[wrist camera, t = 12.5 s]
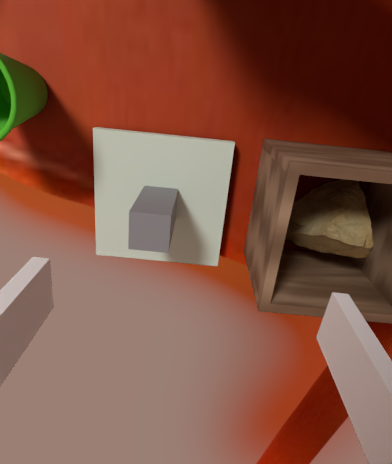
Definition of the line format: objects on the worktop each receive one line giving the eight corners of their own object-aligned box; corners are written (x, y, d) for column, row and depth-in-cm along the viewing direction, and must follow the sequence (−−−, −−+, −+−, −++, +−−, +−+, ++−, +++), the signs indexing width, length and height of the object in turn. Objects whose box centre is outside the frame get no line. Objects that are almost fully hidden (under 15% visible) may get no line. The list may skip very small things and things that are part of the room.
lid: (98, 126, 39) (61, 140, 29) (233, 140, 39) (243, 158, 29) (101, 247, 46) (71, 294, 35) (217, 258, 46) (220, 308, 36)
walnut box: (263, 138, 39) (290, 161, 27) (389, 151, 39) (469, 180, 27) (243, 251, 45) (258, 311, 33) (352, 262, 45) (405, 324, 33)
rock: (265, 256, 43) (345, 267, 42) (275, 241, 34) (376, 256, 33) (274, 178, 45) (350, 187, 44) (286, 147, 37) (380, 158, 36)
